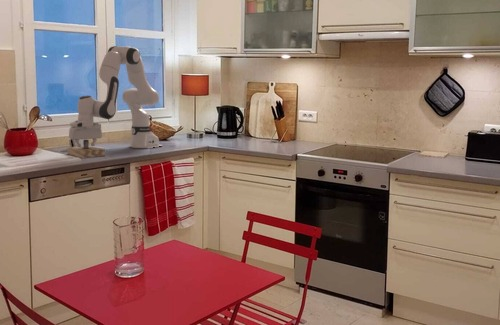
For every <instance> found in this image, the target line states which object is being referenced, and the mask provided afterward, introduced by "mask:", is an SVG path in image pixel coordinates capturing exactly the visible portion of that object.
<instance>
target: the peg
mask: <svg viewBox="0 0 500 325" xmlns="http://www.w3.org/2000/svg"><path fill="white" fill-rule="evenodd" d="M89 143H90V139H86V140H83V149H89V145H90V144H89Z"/></svg>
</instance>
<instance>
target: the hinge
mask: <svg viewBox="0 0 500 325" xmlns="http://www.w3.org/2000/svg"><path fill="white" fill-rule="evenodd" d="M83 140H87V139H79V141H78V142H79V144H81V146H83ZM68 143H69V147H77V143H76V142H75V140H71V139H70V138H69V140H68ZM89 146H91V145H90V144H89Z"/></svg>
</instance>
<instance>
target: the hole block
mask: <svg viewBox="0 0 500 325" xmlns="http://www.w3.org/2000/svg"><path fill="white" fill-rule="evenodd" d="M105 150H106V149H105V148H101V147H95V146H91V145H90V146H89V149H83V146H81V147H70V146H67V152H66V153H67V155H71V156H74V157H78V158H83V159H86V158H97V157H104V156H105V155H106V154H105Z"/></svg>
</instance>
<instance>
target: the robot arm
mask: <svg viewBox="0 0 500 325" xmlns="http://www.w3.org/2000/svg"><path fill="white" fill-rule="evenodd" d="M121 65H125V68H126V73H127V78H128V82H129V84H131V85H132V86H134V87H135V88H132V87H131V88H128V89H125V90H124V91H123V92H122V100H123V103H125V105H127V106H128V108H129V110H130V112H131V138H130V139H131V140H130V143H129V144H130V145H129V148H133V149H154V148H153V147H155V148H160V147H159V146H162V147H163V144H160V139H159V137H158V136H157V135H156V134H155V133H154V132H152V131H154V129H155V128H154V126H150V115H149V113H148V112H147V111H145V110H144V109H143V106H147V107H151V106H156V105H157V104H158V103H159V101H160V95H159V94H160V93H159V92H158V91H157V90H155V89H154V88H153V87H152V86H151V84H150V83H149V82H148V80H147V77H146V72H145V66H144V63H143V60H142V57H141V53H140V51H139V49H138V48H136V47H132V46H125V45H124V46H118V45H115V46H110V47H109V49H108V50H107V52H106V54H105V55H104V58H103V60H102V62H101V64H100V69H99V71H98V72H99V73H98V74H99V75H98V76H99V78H100V80H101V81H102V82H103V83H105V84H106V86H107V92H106V97H105V100H104V101H100V100H97V99H95V98H94V97H93V96H92V95H82V96H80V97H79V98H78V101H77V112H78V114H77V115H78V116H77V120H75V121H72V122H69V123H70V124H69V126H70V127H69V130H68V138H69V140H70V139H71V140H75V142H76V143H77V147H81V144H79V142H78V141H79V139H86V140H90V139H92V140H93V141H92V142H91V143H90V144H91V145H90V146H92V147H95V145H96V144H95V143H96V142H97V139H102V137H103V134H102V133H103V132H102V125H101V123H100V122H94V117H95V118H98V119H99V118H100V119H105V120H111V119H112V118H113V117H114V116H115V115H116V112H117V110H116V109H117V107H116V106H117V105H116V104H117V99H118V98H117V97H118V93H119V92H118V91H119V86H120V82H119V72H120V69H121Z"/></svg>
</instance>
